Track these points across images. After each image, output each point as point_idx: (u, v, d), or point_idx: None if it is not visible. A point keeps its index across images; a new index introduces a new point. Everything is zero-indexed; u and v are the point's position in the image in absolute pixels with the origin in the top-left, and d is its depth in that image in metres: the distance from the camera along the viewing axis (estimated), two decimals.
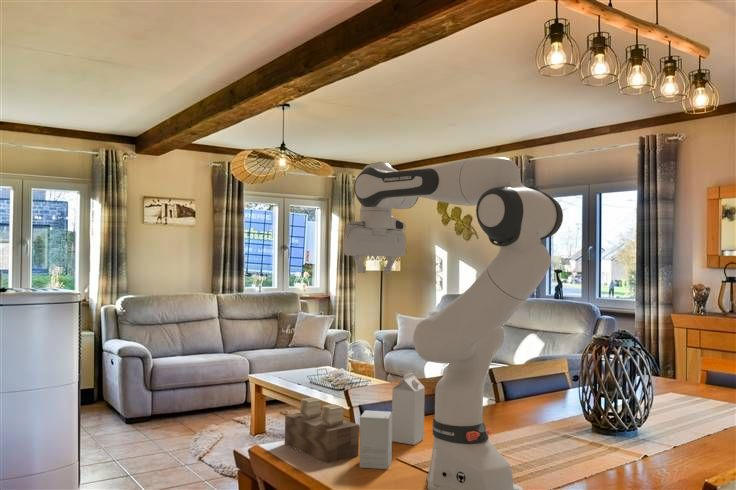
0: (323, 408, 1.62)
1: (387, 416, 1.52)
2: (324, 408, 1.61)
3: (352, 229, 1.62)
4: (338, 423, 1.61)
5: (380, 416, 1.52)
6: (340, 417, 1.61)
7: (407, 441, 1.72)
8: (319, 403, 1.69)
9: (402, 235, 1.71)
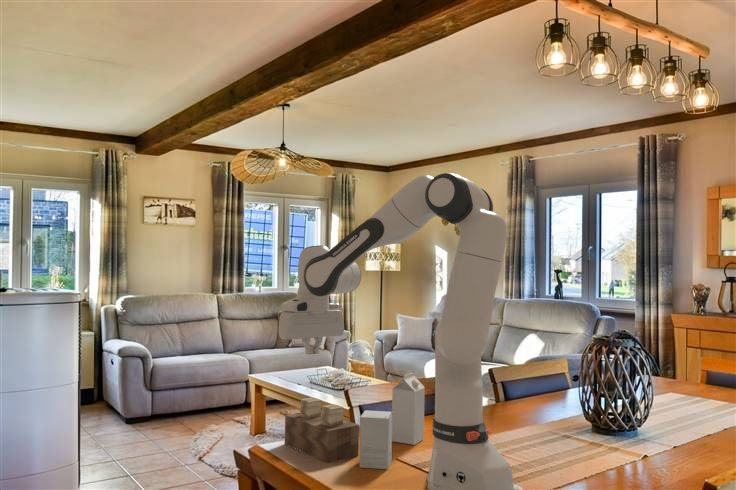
0: (323, 408, 1.62)
1: (387, 416, 1.52)
2: (324, 408, 1.61)
3: None
4: (338, 423, 1.61)
5: (380, 416, 1.52)
6: (340, 417, 1.61)
7: (407, 441, 1.72)
8: (319, 403, 1.69)
9: None
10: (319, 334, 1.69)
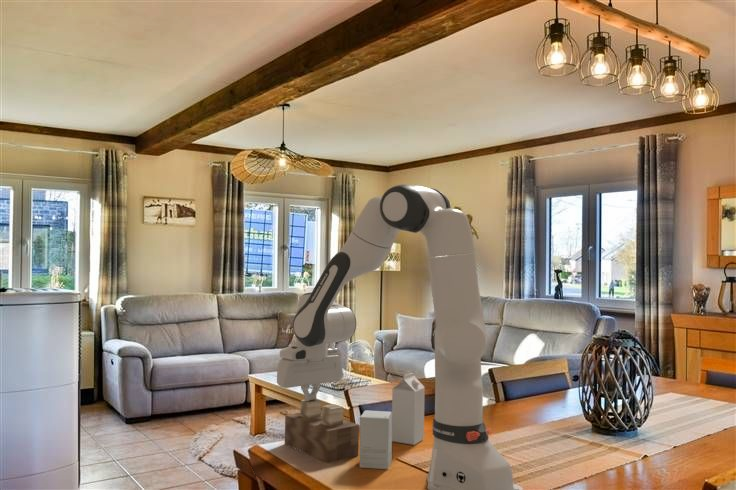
0: (323, 408, 1.62)
1: (387, 416, 1.52)
2: (324, 408, 1.61)
3: None
4: (338, 423, 1.61)
5: (380, 416, 1.52)
6: (340, 417, 1.61)
7: (407, 441, 1.72)
8: (319, 404, 1.69)
9: None
10: (317, 381, 1.69)
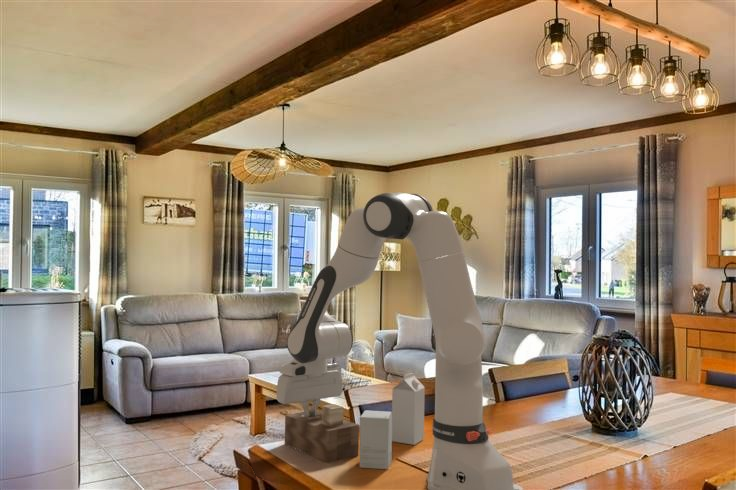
0: (323, 408, 1.62)
1: (387, 416, 1.52)
2: (324, 408, 1.61)
3: None
4: (338, 423, 1.61)
5: (380, 416, 1.52)
6: (340, 417, 1.61)
7: (407, 441, 1.72)
8: None
9: None
10: (317, 396, 1.69)
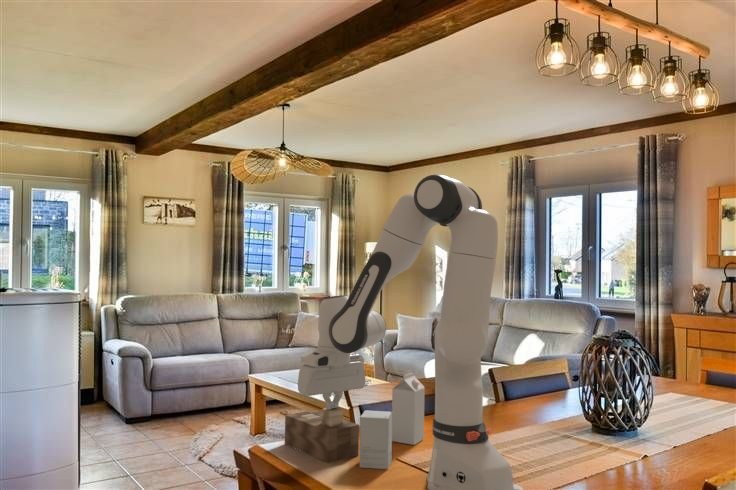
0: (323, 411, 1.62)
1: (387, 416, 1.52)
2: (324, 411, 1.61)
3: None
4: None
5: (380, 416, 1.52)
6: (340, 419, 1.61)
7: (407, 441, 1.72)
8: None
9: None
10: (340, 388, 1.62)
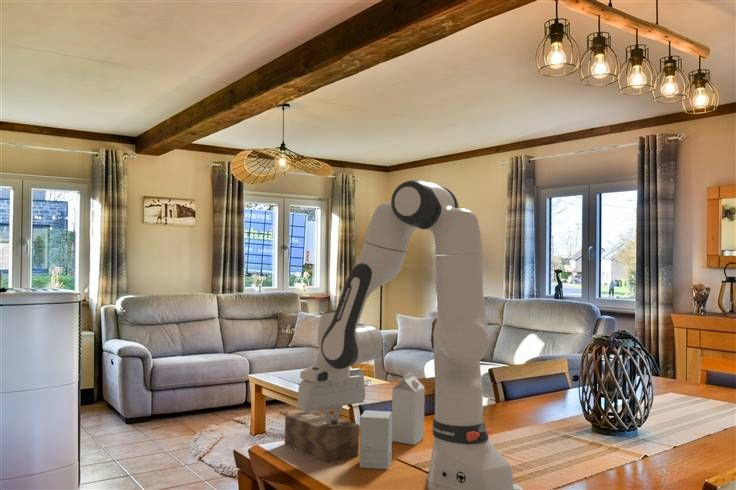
0: None
1: (387, 416, 1.52)
2: None
3: None
4: None
5: (380, 416, 1.52)
6: None
7: (407, 441, 1.72)
8: None
9: None
10: (340, 403, 1.61)
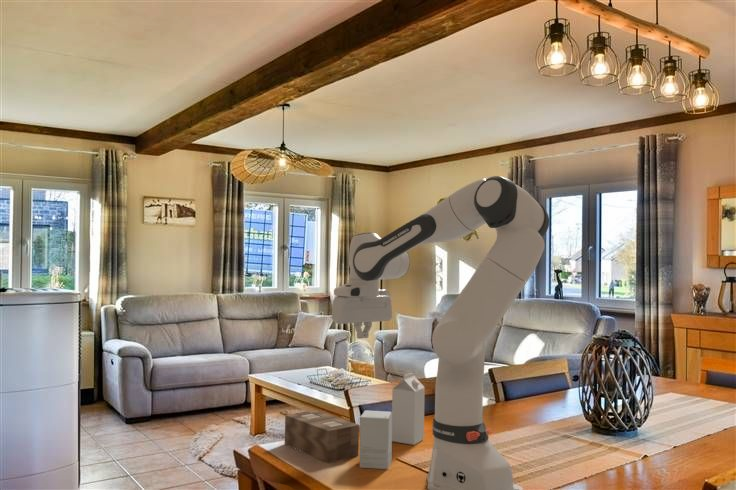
0: None
1: (387, 416, 1.52)
2: None
3: None
4: None
5: (380, 416, 1.52)
6: None
7: (407, 441, 1.72)
8: None
9: None
10: (370, 319, 1.74)
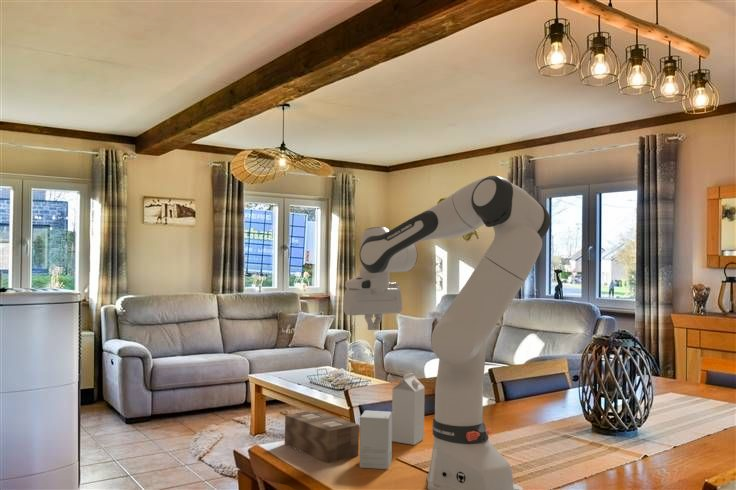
0: None
1: (387, 416, 1.52)
2: None
3: None
4: None
5: (380, 416, 1.52)
6: None
7: (407, 441, 1.72)
8: None
9: None
10: (380, 311, 1.79)
